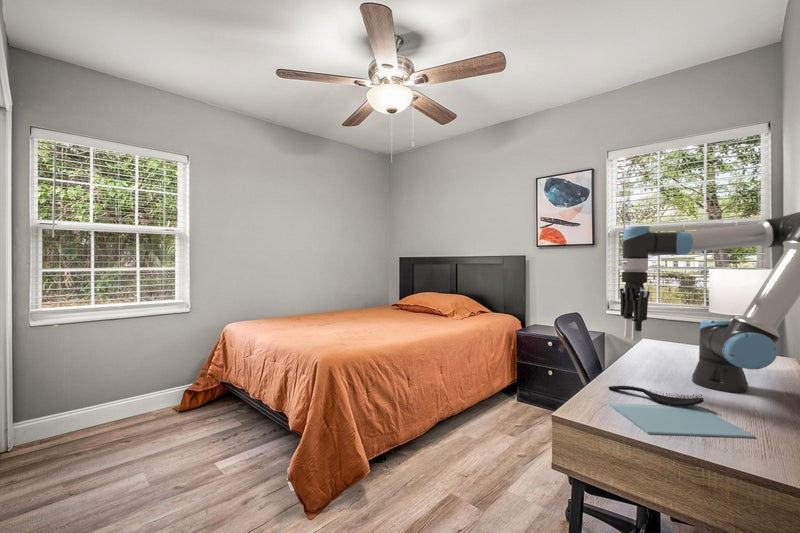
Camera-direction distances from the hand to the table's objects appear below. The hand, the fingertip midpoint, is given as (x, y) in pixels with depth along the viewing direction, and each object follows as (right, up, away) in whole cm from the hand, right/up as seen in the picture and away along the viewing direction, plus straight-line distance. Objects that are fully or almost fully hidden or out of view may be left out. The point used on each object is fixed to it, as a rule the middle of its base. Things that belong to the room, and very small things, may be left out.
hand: (632, 338), depth 129 cm
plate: (-5, -17, -26) cm, 32 cm away
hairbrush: (-1, -17, -12) cm, 21 cm away
